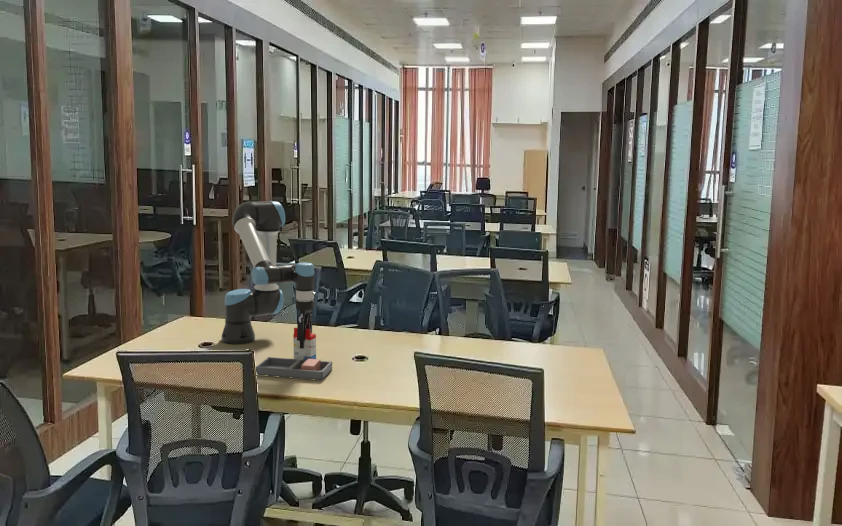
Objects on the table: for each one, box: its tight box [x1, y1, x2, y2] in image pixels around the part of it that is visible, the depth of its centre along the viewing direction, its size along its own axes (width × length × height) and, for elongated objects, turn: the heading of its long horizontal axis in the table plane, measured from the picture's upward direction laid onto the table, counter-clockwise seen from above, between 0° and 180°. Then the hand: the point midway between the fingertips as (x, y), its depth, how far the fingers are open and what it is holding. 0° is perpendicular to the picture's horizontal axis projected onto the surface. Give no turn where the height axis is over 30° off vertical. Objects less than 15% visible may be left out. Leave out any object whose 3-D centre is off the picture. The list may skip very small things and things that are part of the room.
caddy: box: [255, 356, 333, 381], centre depth 274 cm, size 27×14×4 cm, turn 82°
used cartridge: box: [301, 358, 321, 371], centre depth 273 cm, size 5×9×4 cm, turn 172°
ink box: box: [292, 327, 317, 360], centre depth 289 cm, size 8×5×15 cm, turn 71°
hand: (304, 353), depth 289 cm, fingers closed on ink box, 5 cm apart
